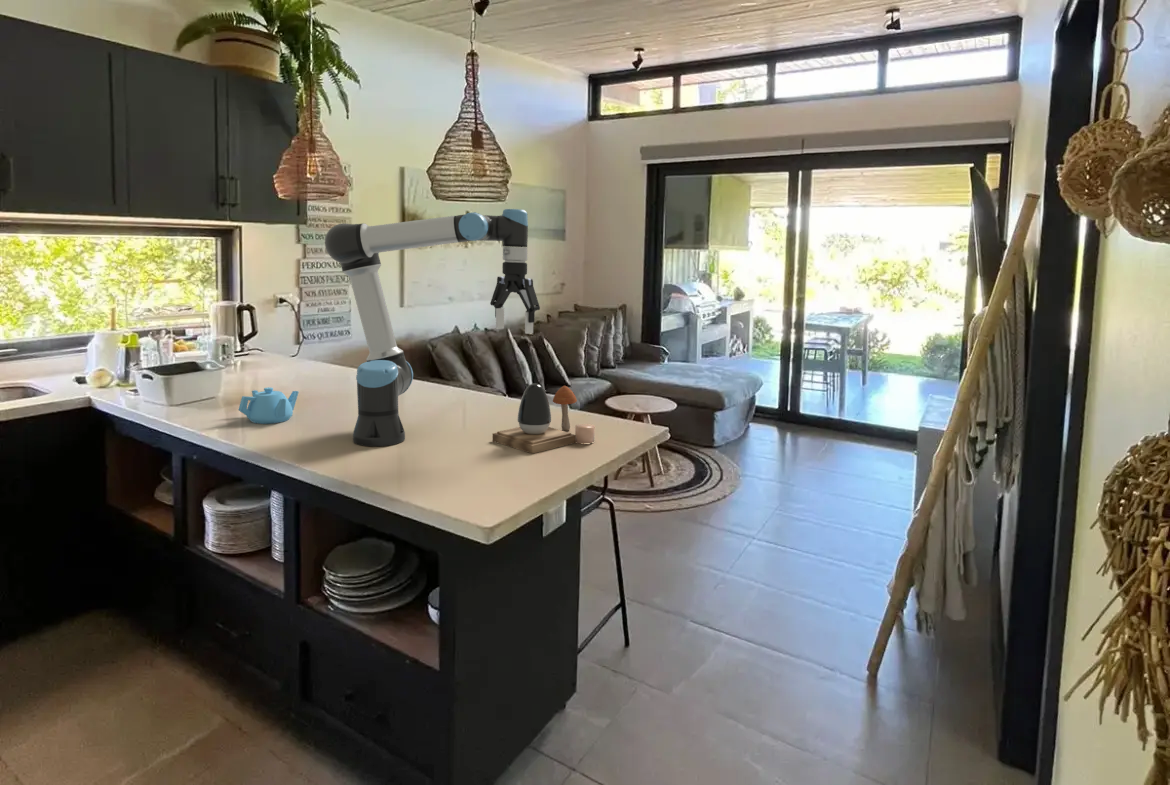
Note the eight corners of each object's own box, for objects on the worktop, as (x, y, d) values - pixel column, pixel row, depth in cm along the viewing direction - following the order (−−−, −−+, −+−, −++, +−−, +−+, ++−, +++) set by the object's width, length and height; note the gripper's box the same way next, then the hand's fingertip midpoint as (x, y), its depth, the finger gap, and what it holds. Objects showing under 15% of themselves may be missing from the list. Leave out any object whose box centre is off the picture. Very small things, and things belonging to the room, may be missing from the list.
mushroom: (546, 429, 235) (547, 384, 232) (565, 426, 240) (566, 382, 238) (562, 434, 229) (563, 388, 226) (581, 431, 235) (582, 385, 232)
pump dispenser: (540, 426, 226) (541, 379, 223) (557, 434, 218) (558, 385, 215) (511, 430, 221) (511, 381, 218) (527, 438, 213) (527, 387, 209)
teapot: (254, 414, 244) (252, 383, 242) (300, 414, 246) (298, 383, 244) (237, 425, 230) (235, 392, 227) (286, 425, 231) (284, 392, 229)
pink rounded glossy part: (571, 441, 222) (571, 426, 221) (583, 438, 226) (583, 422, 225) (586, 445, 218) (586, 429, 217) (598, 441, 222) (598, 426, 221)
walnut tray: (492, 441, 220) (492, 431, 219) (535, 431, 233) (535, 422, 232) (532, 453, 208) (532, 443, 207) (575, 442, 221) (576, 433, 220)
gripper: (479, 260, 224) (479, 327, 229) (533, 263, 208) (532, 336, 212) (497, 260, 230) (497, 326, 234) (552, 263, 213) (550, 334, 217)
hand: (514, 331), depth 223 cm, fingers open, 13 cm apart
